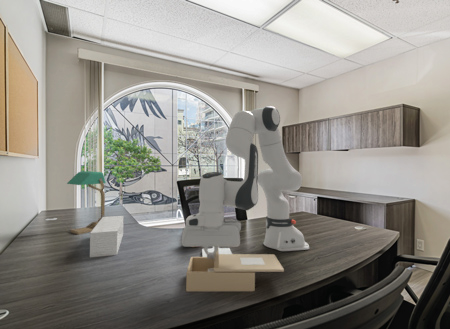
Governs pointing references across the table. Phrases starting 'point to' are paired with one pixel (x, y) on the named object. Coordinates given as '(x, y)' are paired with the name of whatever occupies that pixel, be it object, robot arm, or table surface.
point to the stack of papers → (106, 236)
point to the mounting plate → (221, 251)
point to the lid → (246, 263)
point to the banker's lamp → (89, 179)
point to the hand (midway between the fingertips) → (210, 258)
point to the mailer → (216, 277)
